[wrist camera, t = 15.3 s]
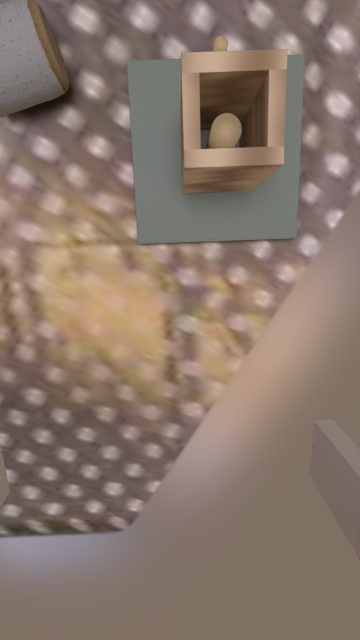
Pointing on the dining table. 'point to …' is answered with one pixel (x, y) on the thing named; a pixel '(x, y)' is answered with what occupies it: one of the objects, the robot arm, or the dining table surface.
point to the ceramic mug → (28, 58)
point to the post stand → (165, 148)
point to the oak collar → (240, 100)
